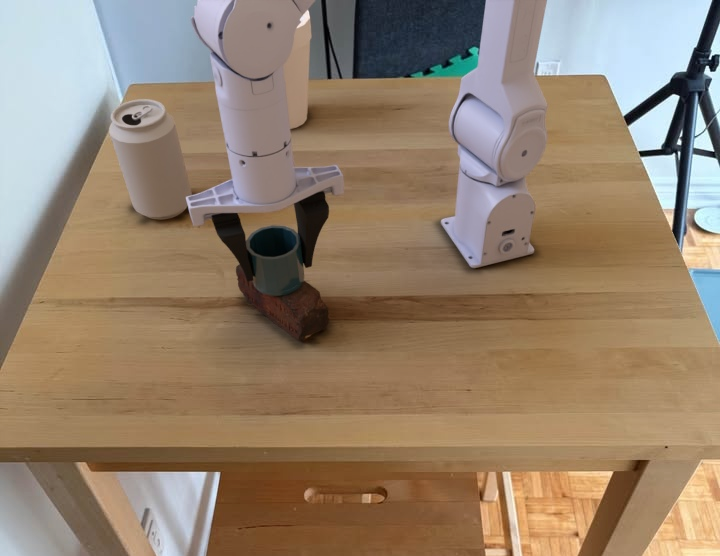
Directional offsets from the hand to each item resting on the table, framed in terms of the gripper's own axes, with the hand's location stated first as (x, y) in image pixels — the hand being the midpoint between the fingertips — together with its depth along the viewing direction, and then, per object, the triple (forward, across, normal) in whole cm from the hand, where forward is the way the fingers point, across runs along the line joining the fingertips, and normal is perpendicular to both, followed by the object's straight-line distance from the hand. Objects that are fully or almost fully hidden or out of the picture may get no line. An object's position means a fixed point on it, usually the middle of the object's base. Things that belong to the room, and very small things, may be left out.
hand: (277, 268), depth 73 cm
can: (+6, +9, -25) cm, 27 cm away
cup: (+1, 0, 0) cm, 1 cm away
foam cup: (+6, -11, -40) cm, 42 cm away
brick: (+6, 0, 0) cm, 6 cm away
